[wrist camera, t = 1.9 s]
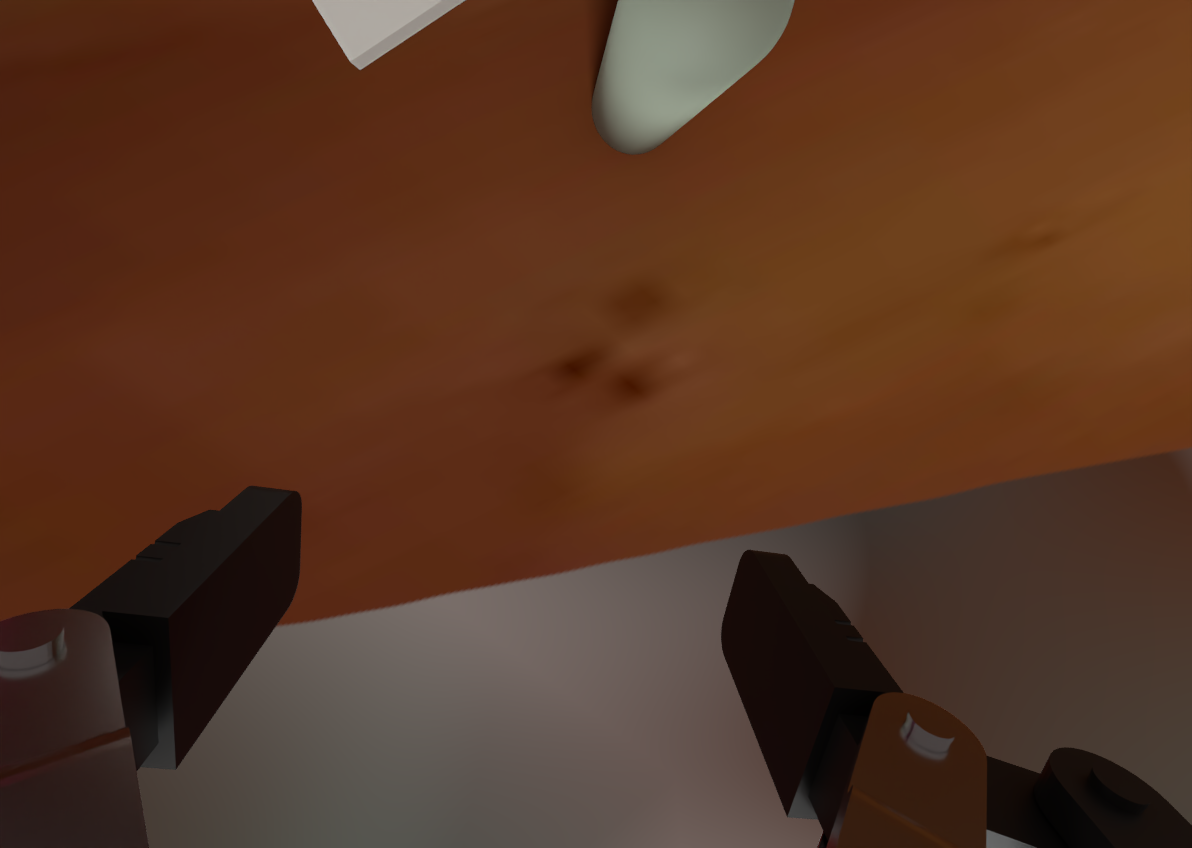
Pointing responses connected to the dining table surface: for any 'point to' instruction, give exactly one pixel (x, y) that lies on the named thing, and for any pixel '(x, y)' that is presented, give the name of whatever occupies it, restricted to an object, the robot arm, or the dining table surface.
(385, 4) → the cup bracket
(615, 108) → the green dowel
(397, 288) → the dining table surface
